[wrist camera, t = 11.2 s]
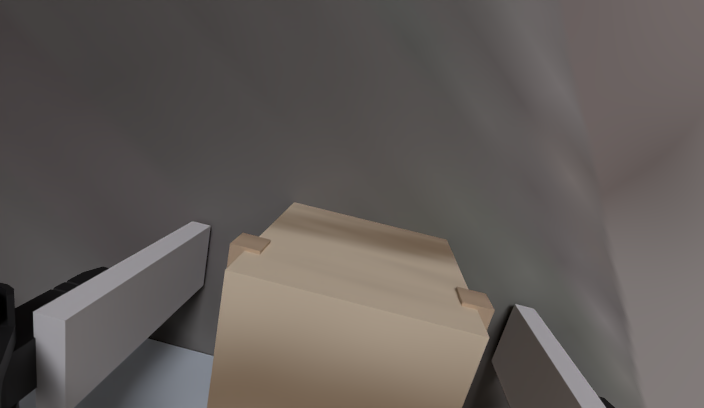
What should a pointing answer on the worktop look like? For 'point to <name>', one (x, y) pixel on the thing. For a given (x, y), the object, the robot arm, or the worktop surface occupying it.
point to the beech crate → (345, 318)
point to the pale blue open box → (151, 380)
